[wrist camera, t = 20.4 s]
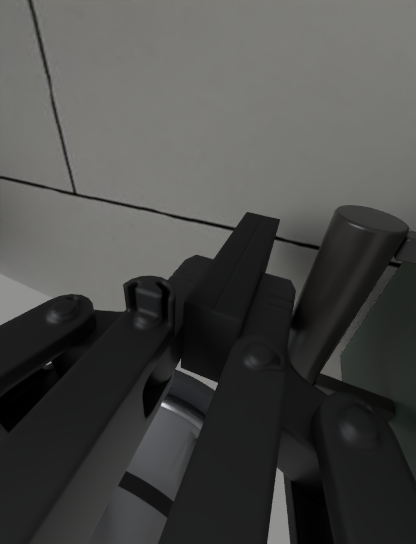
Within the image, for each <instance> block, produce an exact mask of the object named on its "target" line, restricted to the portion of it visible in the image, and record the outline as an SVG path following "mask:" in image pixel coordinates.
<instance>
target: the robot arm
mask: <svg viewBox="0 0 416 544" xmlns="http://www.w3.org/2000/svg"><path fill="white" fill-rule="evenodd" d="M279 221H280V219H276V218H271V217H267V216H262V215H258V214H254V213H249V212H247V213H246V214H245V215H244V217H243V218H242V220H241V221H240V222H239V224H238V225H237V227H236V228H235V230H234V231H233V232H232V234H231V235H230V237H229V238H228V240H227V241H226V242H225V244H224V245H223V247H222V248H221V250H220V251H219V252H218V254H217V255H216V257H215V258H214V260H213V259H210V258H206V257H203V256H199V255H195V256H193V257H190V258H188V259H186V260H185V261H184V262H183V263H182V264H181V265H180V267H179V268H178V269H177V270H176V271H175V272H174V273H173V276H171V277H170V278H169V279H168V280H166V279H164V278H162V277H156V276H140V277H137V278H134V279H131V280H129V281H128V282H126V283H125V284H123V287H124V294H125V301H126V310H125V312H114V311H100V310H94V308H93V304H92V302H91V301H90V300H89V298H87V297H84V296H82V295H75V294H69V295H63V296H59V297H56V298H54V299H51V300H49V301H47V302H45V303H43V304H41V305H39V306H37V307H35V308H33V309H31V310H29V311H27V312H25V313H24V314H22V315H20V316H18V317H16V318H14V319H12V320H10V321H8V322H6V323H4V324H2V325H0V544H267V539H268V532H269V523H270V515H271V508H272V500H273V492H274V484H275V477H276V469H277V468H278V469H280V470H281V471H282V472H283V473H284V484H285V494H286V504H287V513H288V525H289V535H290V544H416V481H415V479H414V476H413V474H412V472H411V469H410V467H409V465H408V463H407V460H406V458H405V456H404V453H403V451H402V449H401V447H400V444H399V442H398V440H397V438H396V435H395V433H394V431H393V430H392V428H391V426H390V425H389V423H388V421H387V420H386V418H385V417H384V416H383V415H382V414H381V413H380V412H379V411H378V410H377V409H376V408H375V407H374V406H373V405H372V404H370V403H369V402H367V401H366V400H364V399H363V398H361V397H360V396H357V395H354V394H351V393H348V392H333V393H332V394H330V395H327V394H325V393H324V392H322V391H321V390H320V389H318V388H317V387H315V386H314V385H312V384H311V383H309V382H308V381H307V380H306V379H304V378H303V377H302V376H301V375H300V374H299V373H298V372H297V371H296V369H295V368H294V367H293V365H292V363H291V361H290V359H289V355H288V342H289V335H290V327H291V320H292V313H293V306H294V299H295V292H296V291H295V288H294V286H293V284H292V282H291V280H288V279H284V278H280V277H277V276H273V275H270V274H266V273H265V272H266V268H267V265H268V261H269V258H270V254H271V250H272V247H273V243H274V239H275V236H276V232H277V229H278V225H279ZM180 359H181V368H183V369H186V370H188V371H191V372H193V373H195V374H198V375H200V376H203V377H205V378H208V379H210V380H213V381H215V382H218V385H217V388H216V390H215V393H214V396H213V398H212V401H211V404H210V406H209V409H208V412H207V414H206V415H205V414H204V413H202V412H201V411H200V410H198V409H197V408H196V407H194V406H193V405H191V404H189V403H188V402H186V401H184V400H182V399H180V398H178V397H176V396H174V395H172V394H169V393H168V391H169V389H170V387H171V385H172V382H173V379H174V370H175V368H176V367H177V364H178V363H179V361H180ZM50 361H51V362H52V363H51V364H49V365H46V364H47V363H49V362H50Z"/></svg>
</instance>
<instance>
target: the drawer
mask: <svg viewBox="0 0 416 544" xmlns="http://www.w3.org/2000/svg"><path fill="white" fill-rule="evenodd" d="M393 257H394V259H396V260H398V261H402V264H401V265H400V267H399V268H398V270H397V271H396V273H395V274H394V276H393V277H392V279H391V280H390V282H389V283H388V285H387V286H386V288H385V289H384V291H383V292H382V294H381V295H380V297H379V298H378V300H377V301H376V303H375V304H374V306H373V307H372V309H371V310H370V312H369V313H368V315H367V316H366V318H365V319H364V321H363V322H362V324H361V325H360V327H359V328H358V330H357V331H356V333H355V334H354V336H353V337H352V339H351V340H350V342H349V343H348V345H347V346H346V348H345V349H344V351H343V352H342V354H341V355H340V357H341V371H342V381H340V380H337V379H335V378H332V377H329V376H326V375H324V374H321V373H320V372H321V370H322V369H323V367H324V365H325V364H326V362H327V361H328V359H329V357H330V356H331V354H332V353H333V351H334V350H335V348H336V346H337V345H338V343H339V342H340V340H341V338H342V337H343V335H344V334H345V332H346V330H347V329H348V327H349V326H350V324H351V323H352V321H353V319H354V318H355V316H356V315H357V313H358V311H359V310H360V308H361V307H362V305H363V304H364V302H365V300H366V299H367V297H368V296H369V294H370V292H371V291H372V289H373V288H374V286H375V285H376V283H377V281H378V280H379V278H380V277H381V275H382V273H383V272H384V270H385V269H386V267H387V265H388V264H389V262H390V261H391V259H392V258H393ZM288 355H289V359H290V361H291V363H292V365H293V367H294V368H295V369H296V371H297V372H298V373H299V374H300V375H301V376H302V377H303V378H304V379H306V380H307V381H308V382H309V383H311V384H312V385H314V386H315V387H317V388H318V389H320V390H321V391H322V392H324V393H325V394H327V395H330V394H332V393H333V392H348V393H351V394H354V395H357V396H360V397H361V398H363V399H364V400H366V401H367V402H369V403H370V404H372V405H373V406H374V407H375V408H376V409H377V410H378V411H379V412H380V413H381V414H382V415H383V416H384V417H385V418H386V420H387V421H388V423H389V425H390V426H391V428H392V430H393V431H394V433H395V435H396V438H397V440H398V442H399V444H400V447H401V449H402V451H403V453H404V456H405V458H406V460H407V463H408V465H409V467H410V469H411V472H412V474H413V476H414V479H415V481H416V232H412V231H409V227H408V226H407V224H405V223H404V222H403V221H401V220H400V219H398V218H397V217H395V216H392V215H390V214H388V213H385V212H382V211H379V210H376V209H372V208H368V207H363V206H354V205H346V206H340V207H338V208H337V209H336V210H335V212H334V214H333V217H332V219H331V222H330V224H329V226H328V229H327V231H326V234H325V236H324V238H323V241H322V243H321V246H320V248H319V250H318V253H317V255H316V258H315V260H314V262H313V265H312V267H311V270H310V272H309V274H308V277H307V279H306V282H305V284H304V286H303V289H302V291H301V294H300V296H299V298H298V301H297V303H296V306H295V308H294V310H293V313H292V320H291V327H290V335H289V342H288Z"/></svg>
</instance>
